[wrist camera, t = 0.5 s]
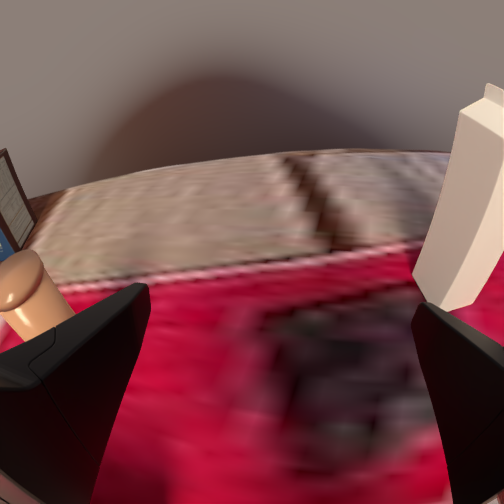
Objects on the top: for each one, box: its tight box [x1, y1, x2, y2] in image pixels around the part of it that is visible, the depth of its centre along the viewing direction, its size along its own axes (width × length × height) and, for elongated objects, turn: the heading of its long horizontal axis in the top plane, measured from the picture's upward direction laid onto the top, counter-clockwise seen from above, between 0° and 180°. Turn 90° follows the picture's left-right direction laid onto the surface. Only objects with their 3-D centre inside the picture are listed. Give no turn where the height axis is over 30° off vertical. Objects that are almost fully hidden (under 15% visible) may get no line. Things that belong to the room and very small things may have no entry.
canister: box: [0, 250, 76, 342], centre depth 19 cm, size 5×5×14 cm
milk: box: [412, 83, 504, 312], centre depth 21 cm, size 6×6×22 cm
